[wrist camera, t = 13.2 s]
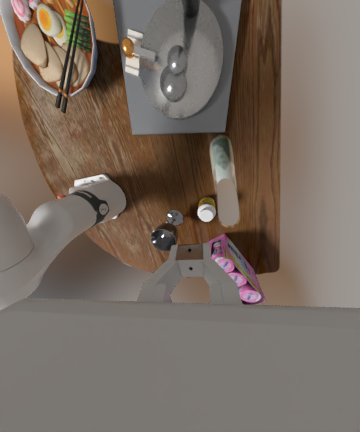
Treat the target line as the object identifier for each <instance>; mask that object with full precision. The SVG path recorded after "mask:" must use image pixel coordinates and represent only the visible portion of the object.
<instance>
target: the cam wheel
mask: <svg viewBox="0 0 360 432" xmlns="http://www.w3.org/2000/svg"><path fill="white" fill-rule="evenodd" d="M121 48H122V51H123V53H124V55H125V56H126V57H127V58H128V59H132V58H134V56H138V57H139V69H140V76H141V81H142V85H143V88H144V91H145V93H146V95H147V97H148V99H149V101H150V102H151V103H152V105H153V106H154V107H155V108H156V109H157V110H158V111H159V112H160V113H162V114H163V115H165V116H166V117H169V118H171V119H176V120H183V119H188V118H190V117H193V116H194V115H196V114H198V113H199V112H200V111H201V110H202V109H203V108H204V107H205V106H206V105H207V104H208V103H209V101H210V100H211V98H212V97H213V95H214V93H215V91H216V88H217V85H218V83H219V79H220V75H221V69H222V63H223V41H222V35H221V30H220V27H219V24H218V21H217V19H216V17H215V15H214V14H213V12H212V11H211V9H210V8H209V7H208V6H207V5H206V4H205V3H204V2H202V1H201V0H168V1H166V2H165V3H164V4H162V5H161V6H160V7H159V8H158V9H157V10H156V12H155V13H154V14H153V16H152V17H151V19H150V21H149V22H148V25H147V27H146V29H145V32H144V35H143V38H142V42H141V47H138V46H135V45H134V43H133V41H132V40H131V39H130V38H128V37H125V38H123V39H122V42H121Z"/></svg>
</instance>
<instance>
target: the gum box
mask: <svg viewBox="0 0 360 432" xmlns="http://www.w3.org/2000/svg"><path fill="white" fill-rule="evenodd" d="M209 244H210V251H211V259H214V260H215V261H216V262H217V263H218V265H219V266H220V267H221V268H222V269H223V270H224V271H225V272H226V273H227V274H228V275H229V276H230V277H231V278H232V279H233V280H234V281H235V282H236V283H237V286H238V290H239V293H240V297H241V301H242V304H243V305H254V304H258V303H262V302H265V298H264V295H263V292H262V290H261V287H260V285H259V282H258V280H257V277H256V274H255V272H254V269H253V268H252V267H251V266H250V264H249V263H248V262H247V261H246V259H245V258H244V257H243V255H242V254H241V253H240V252H239V250H238V249H237V248H236V247H235V245H234V244H233V243H232V242H231V240H230V239H229V238H228V237H227V236H226V234H225V233H224V234H222V235H220V236H218V237H216V238H214V239H212V240H210V241H209Z"/></svg>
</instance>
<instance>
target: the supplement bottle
mask: <svg viewBox="0 0 360 432" xmlns="http://www.w3.org/2000/svg"><path fill="white" fill-rule="evenodd" d="M197 213H198V216H199V218H200V219H201V220H202V221H204V222H209V221H211V220H212V219H213V218H214V217H215V214H216V208H215V202H214V200H213V199H212V198H211V197H204V198H202V199H201V200H200V202H199V206H198V212H197Z"/></svg>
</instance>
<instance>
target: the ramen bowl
mask: <svg viewBox="0 0 360 432" xmlns="http://www.w3.org/2000/svg"><path fill="white" fill-rule="evenodd" d="M0 14H1V17H2V20H3V23H4V26H5V29H6V32H7V35H8V38H9V41H10V44H11V46H12V48H13V50H14V51H15V53H16V55H17V57H18V58H19V60H20V62H21V64H22V65H23V67H24V69H25V70H26V71H27V72H28V73H29V75H30V76H31V77H32V78H33V79H34V80H35V81H36V82H37V84H38V85H39V86H40V87H42V88H44V89H45V90H47V91H49V92H50V93H52V94H54V95H55V96H57V100H56V104H55V106H56V107H57V108H60V103H61V98H62V96H64V99H63V104H62V109H61V111H62V112H63V113H66V107H67V101H68V97H71V96H74V95H76V94H78V93H79V92H81V91H82V90H84V89H85V88H87V87H88V86H89V84H90V82H91V80H92V78H93V76H94V74H95V72H96V64H97V55H98V51H97V43H96V36H95V28H94V23H93V19H92V17H91V14H90V11H89V9H88V6H87V3H86V1H85V0H0Z"/></svg>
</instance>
